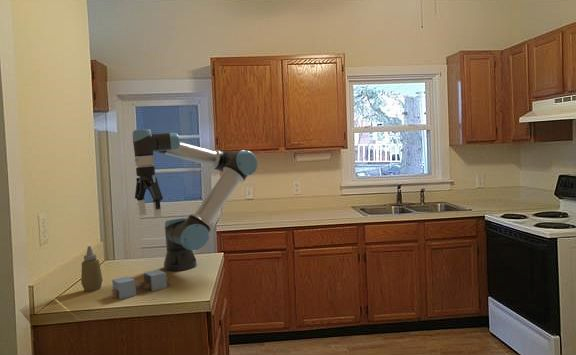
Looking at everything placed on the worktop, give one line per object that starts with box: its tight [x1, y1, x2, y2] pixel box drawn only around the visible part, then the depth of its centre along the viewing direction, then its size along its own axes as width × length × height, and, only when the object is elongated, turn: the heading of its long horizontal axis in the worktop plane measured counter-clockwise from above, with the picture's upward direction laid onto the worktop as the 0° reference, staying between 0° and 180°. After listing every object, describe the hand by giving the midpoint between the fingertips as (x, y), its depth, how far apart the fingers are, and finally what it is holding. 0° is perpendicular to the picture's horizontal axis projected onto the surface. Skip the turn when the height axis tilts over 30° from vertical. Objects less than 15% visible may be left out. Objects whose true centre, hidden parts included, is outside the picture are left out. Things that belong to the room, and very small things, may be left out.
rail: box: [111, 276, 171, 300], centre depth 180 cm, size 22×3×4 cm, turn 130°
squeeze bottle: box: [80, 245, 104, 293], centre depth 186 cm, size 8×8×18 cm
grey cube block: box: [143, 269, 168, 292], centre depth 183 cm, size 7×7×6 cm
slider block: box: [112, 275, 137, 300], centre depth 175 cm, size 7×7×6 cm
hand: (150, 216), depth 195 cm, fingers open, 13 cm apart
